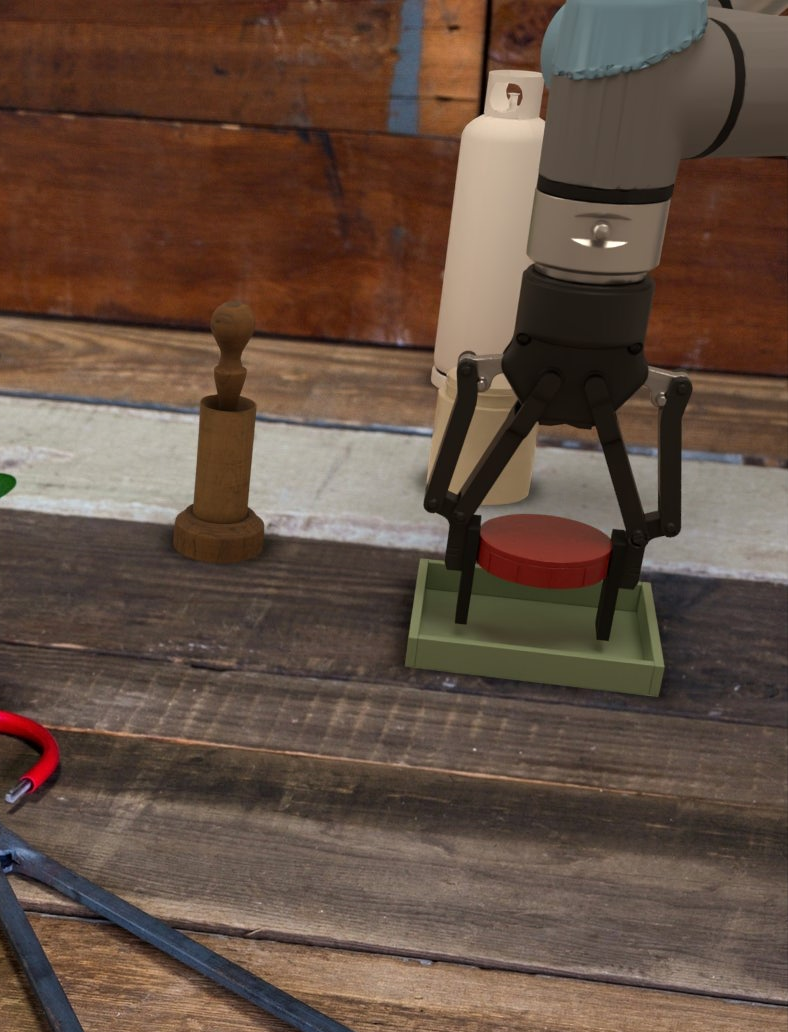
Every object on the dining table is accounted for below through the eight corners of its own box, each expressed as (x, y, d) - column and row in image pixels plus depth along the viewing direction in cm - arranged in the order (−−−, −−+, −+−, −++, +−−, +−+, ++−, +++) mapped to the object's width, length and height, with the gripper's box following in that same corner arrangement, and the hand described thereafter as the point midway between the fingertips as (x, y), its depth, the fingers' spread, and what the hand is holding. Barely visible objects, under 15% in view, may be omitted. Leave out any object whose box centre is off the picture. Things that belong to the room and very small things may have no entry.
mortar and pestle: (258, 572, 119) (279, 319, 110) (167, 564, 120) (180, 312, 111) (265, 537, 124) (285, 294, 116) (178, 530, 125) (191, 288, 117)
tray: (644, 616, 113) (650, 582, 112) (657, 703, 102) (665, 666, 101) (415, 591, 116) (420, 557, 115) (403, 673, 105) (408, 637, 104)
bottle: (416, 390, 158) (454, 73, 145) (450, 370, 164) (491, 65, 151) (497, 406, 154) (545, 82, 141) (530, 386, 160) (578, 73, 147)
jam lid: (486, 531, 111) (489, 506, 110) (614, 551, 109) (618, 525, 108) (464, 576, 104) (468, 549, 103) (600, 598, 102) (606, 570, 101)
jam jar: (527, 480, 137) (545, 366, 132) (528, 515, 130) (547, 395, 125) (428, 471, 138) (442, 357, 134) (423, 504, 131) (438, 385, 127)
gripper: (404, 268, 97) (362, 628, 107) (789, 297, 92) (706, 668, 103) (411, 241, 103) (371, 583, 114) (772, 267, 99) (695, 619, 110)
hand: (530, 623), depth 108 cm, fingers closed on jam lid, 8 cm apart
